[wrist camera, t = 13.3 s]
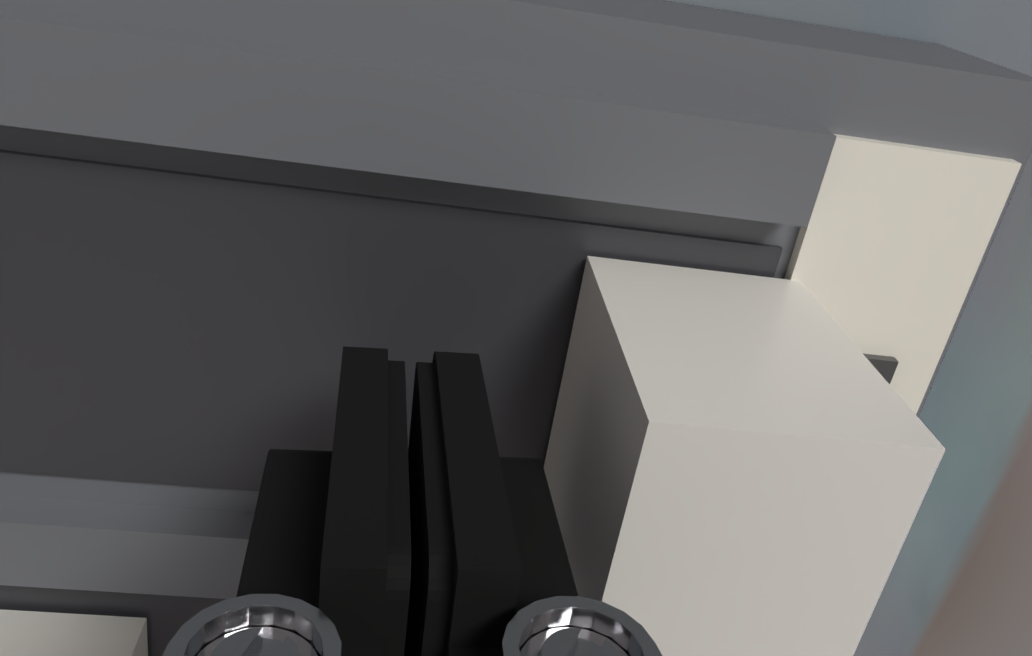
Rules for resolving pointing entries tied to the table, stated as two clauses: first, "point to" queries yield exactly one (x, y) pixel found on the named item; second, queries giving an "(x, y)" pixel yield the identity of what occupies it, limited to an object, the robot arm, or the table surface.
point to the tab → (729, 462)
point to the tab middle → (71, 634)
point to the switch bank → (419, 231)
